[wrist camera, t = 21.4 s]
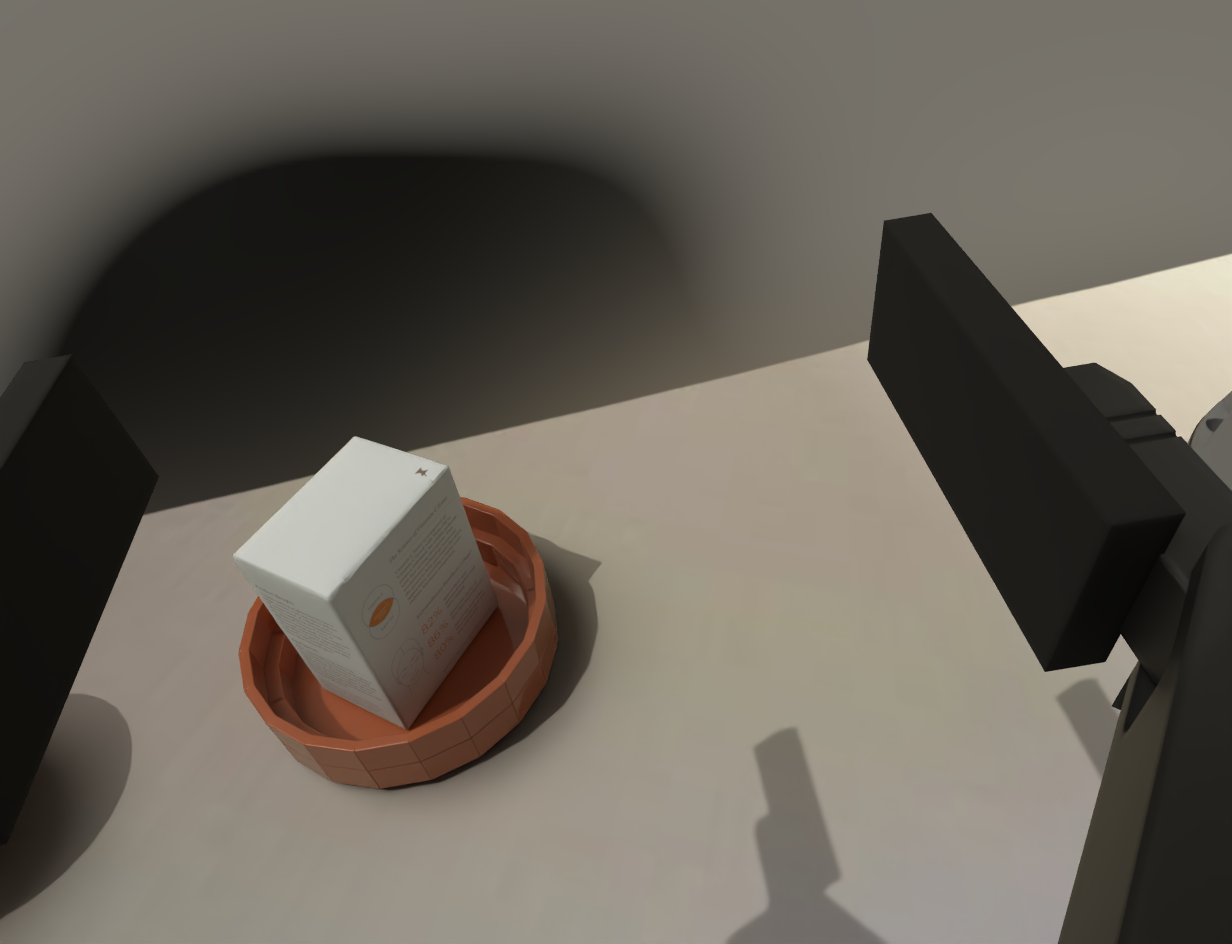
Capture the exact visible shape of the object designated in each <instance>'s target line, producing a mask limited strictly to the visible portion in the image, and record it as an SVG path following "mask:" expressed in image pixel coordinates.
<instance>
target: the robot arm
mask: <svg viewBox="0 0 1232 944" xmlns="http://www.w3.org/2000/svg"><path fill="white" fill-rule="evenodd" d="M867 360H868V362H869V364H870V365H871V367H872V369H873V371H874V372H875V374H876V376H877V378H878V379H879V381H880V383H881V385H882V386H883V388H884V390H885V392H886V393H887V395H888V397H889V399H890V400H891V402H892V404H893V406H894V407H895V409H896V411H897V413H898V414H899V416H900V418H901V420H902V421H903V423H904V425H905V427H906V429H907V430H908V432H909V434H910V436H911V437H912V439H913V441H914V443H915V444H916V446H917V448H918V450H919V451H920V453H921V455H922V457H923V458H924V460H925V462H926V464H927V465H928V467H929V469H930V471H931V472H932V474H933V476H934V478H935V479H936V481H937V483H938V485H939V487H940V488H941V490H942V492H943V494H944V495H945V497H946V499H947V501H948V502H949V504H950V506H951V508H952V509H953V511H954V513H955V515H956V516H957V518H958V520H959V522H960V523H961V525H962V527H963V529H964V530H965V532H966V534H967V536H968V537H969V539H970V541H971V543H972V544H973V546H974V548H975V550H976V552H977V553H978V555H979V557H980V559H981V560H982V562H983V564H984V566H985V567H986V569H987V571H988V573H989V574H990V576H991V578H992V580H993V581H994V583H995V585H996V587H997V588H998V590H999V592H1000V594H1001V595H1002V597H1003V599H1004V601H1005V602H1006V604H1007V606H1008V608H1009V609H1010V611H1011V613H1012V615H1013V617H1014V618H1015V620H1016V622H1017V624H1018V625H1019V627H1020V629H1021V631H1022V632H1023V634H1024V636H1025V638H1026V639H1027V641H1028V643H1029V645H1030V646H1031V648H1032V650H1033V652H1034V653H1035V655H1036V657H1037V659H1038V660H1039V662H1040V664H1041V666H1042V667H1043V669H1044V671H1045V672H1047V671H1053V670H1059V669H1065V668H1071V667H1077V666H1083V665H1090V664H1096V663H1102V662H1106V660H1107V658H1108V656H1109V654H1110V653H1111V651H1112V649H1113V647H1114V645H1115V643H1116V642H1117V640H1118V638H1119V636H1120V634H1121V635H1122V636H1123V638H1124V639H1125V641H1126V642H1127V644H1128V645H1129V647H1130V648H1131V650H1132V651H1133V653H1134V654H1135V656H1136V657H1137V659H1138V660H1139V661H1138V662H1137V664H1136V666H1135V667H1134V669H1133V671H1132V673H1131V674H1130V676H1129V678H1128V679H1127V681H1126V683H1125V684H1124V686H1123V688H1122V689H1121V691H1120V693H1119V694H1118V696H1117V698H1116V699H1115V701H1114V703H1113V705H1112V707H1115V708H1117V709H1119V710H1121V712H1120V715H1119V719H1118V723H1117V726H1116V730H1115V734H1114V738H1113V741H1112V745H1111V749H1110V752H1109V756H1108V760H1107V763H1106V767H1105V771H1104V775H1103V778H1102V782H1101V786H1100V789H1099V793H1098V797H1097V801H1096V804H1095V808H1094V812H1093V815H1092V819H1091V823H1090V826H1089V830H1088V834H1087V838H1086V841H1085V845H1084V849H1083V852H1082V856H1081V860H1080V864H1079V867H1078V871H1077V875H1076V878H1075V882H1074V886H1073V889H1072V893H1071V897H1070V901H1069V904H1068V908H1067V912H1066V915H1065V919H1064V923H1063V927H1062V930H1061V934H1060V938H1059V941H1058V944H1232V392H1230V393H1229V394H1228V395H1227V396H1226V397H1225V398H1224V399H1223V400H1221V401H1220V402H1219V403H1217V404H1216V405H1215V406H1214V407H1213V408H1212V409H1211V410H1210V411H1209V412H1208V413H1207V414H1206V415H1205V416H1204V417H1203V418H1202V419H1201V421H1200V422H1199V423H1198V424H1197V426H1196V428H1195V430H1194V431H1193V433H1192V435H1191V437H1190V439H1189V441H1188V443H1187V442H1186V441H1185V440H1184V439H1183V438H1182V437H1181V436H1180V437H1177V436H1176V433H1175V432H1176V431H1175V429H1174V428H1173V427H1172V426H1171V425H1170V424H1169V423H1168V422H1167V421H1166V420H1165V419H1164V418H1163V417H1162V416H1161V415H1157V414H1156V409H1155V408H1154V407H1153V406H1152V405H1151V404H1150V403H1149V402H1148V400H1147V399H1146V398H1145V397H1144V396H1143V395H1142V394H1141V393H1140V392H1139V391H1138V390H1137V389H1136V388H1135V386H1134V385H1133V384H1132V383H1130V382H1128V381H1127V380H1125V379H1123V378H1121V377H1120V376H1118V375H1116V374H1114V373H1113V372H1111V371H1109V370H1107V369H1105V368H1104V367H1102V366H1100V365H1098V364H1097V363H1090V364H1084V365H1078V366H1072V367H1066V368H1063V367H1062V366H1061V365H1060V364H1059V363H1058V361H1057V360H1056V359H1055V358H1054V357H1053V355H1052V354H1051V353H1050V352H1049V351H1048V350H1047V348H1046V347H1045V346H1044V345H1043V344H1042V343H1041V341H1040V340H1039V339H1038V338H1037V337H1036V335H1035V334H1034V333H1033V332H1032V331H1031V330H1030V328H1029V327H1028V326H1027V325H1026V324H1025V323H1024V321H1023V320H1022V319H1021V318H1020V317H1019V315H1018V314H1017V313H1016V312H1015V311H1014V310H1013V308H1012V307H1011V306H1010V305H1009V304H1008V303H1007V301H1006V300H1005V299H1004V298H1003V297H1002V296H1001V294H1000V293H999V292H998V291H997V290H996V289H995V287H994V286H993V285H992V284H991V283H990V281H989V280H988V279H987V278H986V277H985V276H984V274H983V273H982V272H981V271H980V270H979V268H978V267H977V266H976V265H975V264H974V263H973V261H972V260H971V259H970V258H969V257H968V256H967V254H966V253H965V252H964V251H963V250H962V248H961V247H960V246H959V245H958V244H957V243H956V241H955V240H954V239H953V238H952V237H951V236H950V234H949V233H948V232H947V231H946V230H945V228H944V227H943V226H942V225H941V224H940V223H939V221H938V220H937V219H936V218H935V217H934V216H933V214H932V213H928V214H922V215H917V216H910V217H904V218H898V219H892V220H886V221H884V225H883V234H882V242H881V250H880V259H879V267H878V275H877V283H876V292H875V301H874V309H873V317H872V325H871V333H870V342H869V350H868V358H867ZM158 477H159V476H158V475H157V473H156V472H155V471H154V469H153V468H152V466H151V465H150V464H149V462H148V461H147V459H146V458H145V456H144V455H143V454H142V452H141V451H140V449H138V447H137V445H136V444H135V442H134V441H133V440H132V439H131V437H130V435H129V434H128V433H127V431H126V430H125V428H124V427H123V426H122V424H121V423H120V421H119V420H118V419H117V417H116V416H115V415H114V413H113V412H112V410H111V409H110V407H109V406H108V405H107V403H106V402H105V400H104V399H103V398H102V396H101V395H100V393H99V392H98V390H97V389H96V388H95V386H94V385H93V383H92V382H91V381H90V379H89V378H88V376H87V375H86V374H85V372H84V371H83V369H82V368H81V367H80V365H79V364H78V363H77V361H76V360H75V358H74V357H73V355H66V356H60V357H54V358H48V359H42V360H36V361H30V362H25V363H24V364H23V365H22V367H21V368H20V370H19V371H18V372H17V374H16V375H15V377H14V378H13V380H12V381H11V383H10V384H9V386H8V387H7V389H6V390H5V392H4V393H3V394H2V396H1V397H0V845H3V844H7V842H8V840H9V838H10V835H11V833H12V830H13V828H14V826H15V823H16V821H17V818H18V816H19V813H20V811H21V809H22V806H23V804H24V801H25V799H26V797H27V794H28V792H29V789H30V787H31V784H32V782H33V780H34V777H35V775H36V772H37V770H38V768H39V765H40V763H41V760H42V758H43V755H44V753H45V751H46V748H47V746H48V743H49V741H50V739H51V736H52V734H53V731H54V729H55V726H56V724H57V722H58V719H59V717H60V714H61V712H62V710H63V707H64V705H65V702H66V700H67V697H68V695H69V693H70V690H71V688H72V685H73V683H74V681H75V678H76V676H77V673H78V671H79V668H80V666H81V664H82V661H83V659H84V656H85V654H86V652H87V649H88V647H89V644H90V642H91V639H92V637H93V635H94V632H95V630H96V627H97V625H98V623H99V620H100V618H101V615H102V613H103V610H104V608H105V606H106V603H107V601H108V598H109V596H110V594H111V591H112V589H113V586H114V584H115V581H116V579H117V577H118V574H119V572H120V569H121V567H122V564H123V562H124V560H125V557H126V555H127V552H128V550H129V548H130V545H131V543H132V540H133V538H134V535H135V533H136V531H137V528H138V526H139V523H140V521H141V519H142V516H143V514H144V511H145V509H146V506H147V504H148V502H149V499H150V497H151V494H152V492H153V490H154V487H155V485H156V482H157V480H158Z"/></svg>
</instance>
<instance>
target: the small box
mask: <svg viewBox="0 0 1232 944" xmlns="http://www.w3.org/2000/svg"><path fill="white" fill-rule="evenodd" d="M233 560H234V562H235V563H236V565H237V566H238V568H239V569H240V570H241V572H242V573H243V575H244V576H245V577H246V579H247V580H248V582H249V583H250V585H251V586H252V587H253V589H254V590H255V592H256V593H257V595H258V596H259V597H260V599H261V600H262V602H263V603H264V604H265V606H266V607H267V609H268V610H269V612H270V613H271V614H272V616H273V618H274V619H275V621H276V622H277V624H278V625H279V626H280V628H281V629H282V631H283V632H284V633H285V635H286V636H287V637H288V639H289V640H290V642H291V643H292V645H293V646H294V647H295V649H296V650H297V652H298V653H299V655H300V656H301V657H302V659H303V660H304V662H305V663H306V665H307V666H308V667H309V669H310V670H311V672H312V673H313V675H314V676H315V677H316V679H317V680H318V681H319V683H320V684H321V686H322V687H323V688H324V689H326V690H327V691H329V692H331V693H333V694H335V695H337V696H339V697H341V698H343V699H345V700H347V701H349V702H351V703H353V704H355V705H357V706H359V707H361V708H363V709H365V710H367V711H369V712H371V713H373V714H375V715H377V716H379V717H381V718H383V719H385V720H387V721H389V722H391V723H393V724H395V725H397V726H399V727H401V728H403V729H406V730H407V729H409V728H410V726H411V725H412V724H413V722H414V721H415V719H416V718H417V716H418V715H419V714H420V712H421V711H422V710H423V708H424V707H425V705H426V704H427V703H428V701H429V700H430V699H431V697H432V696H433V694H434V693H435V692H436V690H437V689H438V688H439V686H440V685H441V683H442V682H443V681H444V679H445V678H446V677H447V675H448V674H449V672H450V671H451V670H452V668H453V667H454V665H455V664H456V663H457V661H458V660H459V659H460V657H461V656H462V655H463V653H464V652H465V651H466V649H467V648H468V646H469V645H470V644H471V642H472V641H473V639H474V638H475V637H476V635H477V634H478V632H479V631H480V630H481V628H482V627H483V625H484V624H485V623H486V621H487V620H488V619H489V617H490V616H491V615H492V613H493V612H494V610H495V609H496V608H497V606H498V601H497V598H496V595H495V593H494V590H493V587H492V584H491V582H490V579H489V576H488V573H487V571H486V568H485V565H484V562H483V559H482V557H481V554H480V551H479V549H478V546H477V543H476V540H475V538H474V535H473V532H472V529H471V527H470V524H469V521H468V518H467V516H466V512H465V510H464V507H463V504H462V502H461V499H460V496H459V493H458V491H457V488H456V485H455V482H454V480H453V477H452V474H451V471H450V469H449V467H448V466H446V465H443V464H440V463H437V462H434V461H431V460H428V459H425V458H422V457H419V456H415V455H412V454H409V453H406V452H403V451H400V450H397V449H394V448H391V447H387V446H384V445H381V444H378V443H375V442H372V441H369V440H366V439H362V438H359V437H353V438H352V439H351V440H350V441H349V442H348V443H347V444H346V445H345V446H344V447H343V448H342V449H341V450H340V451H339V452H338V453H337V454H336V455H335V456H334V457H333V458H332V459H331V460H330V461H329V462H328V463H327V464H326V465H325V466H324V467H323V468H322V469H321V470H320V471H319V472H318V473H317V474H316V475H314V476H313V477H312V478H311V479H310V480H309V481H308V482H307V483H306V484H305V485H304V486H303V487H302V488H301V489H300V490H299V491H298V492H297V493H296V494H295V495H294V496H293V497H292V498H291V499H290V500H289V501H288V502H287V503H286V504H285V505H284V506H283V507H282V508H281V509H280V510H279V511H277V512H276V513H275V514H274V515H273V516H272V518H270V519H269V520H268V521H267V522H266V523H265V524H264V525H263V526H262V527H261V528H260V529H259V530H258V531H257V532H256V533H255V534H254V535H253V536H252V537H251V538H250V539H249V540H248V541H247V542H246V543H245V544H244V545H243V546H242V547H240V548H239V549H238V550H237V551H236V552H235V553H234V554H233Z"/></svg>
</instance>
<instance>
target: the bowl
mask: <svg viewBox="0 0 1232 944" xmlns="http://www.w3.org/2000/svg"><path fill="white" fill-rule="evenodd" d="M460 499H461V502H462V504H463V507H464V510H465V512H466V516H467V518H468V521H469V524H470V527H471V529H472V532H473V535H474V538H475V540H476V543H477V546H478V549H479V551H480V554H481V557H482V559H483V562H484V565H485V568H486V571H487V573H488V576H489V579H490V582H491V584H492V587H493V590H494V593H495V595H496V598H497V601H498V606H497V608H496V609H495V610H494V612H493V613H492V615H491V616H490V617H489V619H488V620H487V621H486V623H485V624H484V625H483V627H482V628H481V630H480V631H479V632H478V634H477V635H476V637H475V638H474V639H473V641H472V642H471V644H470V645H469V646H468V648H467V649H466V651H465V652H464V653H463V655H462V656H461V657H460V659H459V660H458V661H457V663H456V664H455V665H454V667H453V668H452V670H451V671H450V672H449V674H448V675H447V677H446V678H445V679H444V681H443V682H442V683H441V685H440V686H439V688H438V689H437V690H436V692H435V693H434V694H433V696H432V697H431V699H430V700H429V701H428V703H427V704H426V705H425V707H424V708H423V710H422V711H421V712H420V714H419V715H418V716H417V718H416V719H415V721H414V722H413V724H412V725H411V726H410V728H409V729H407V730H406V729H403V728H401V727H399V726H397V725H395V724H393V723H391V722H389V721H387V720H385V719H383V718H381V717H379V716H377V715H375V714H373V713H371V712H369V711H367V710H365V709H363V708H361V707H359V706H357V705H355V704H353V703H351V702H349V701H347V700H345V699H343V698H341V697H339V696H337V695H335V694H333V693H331V692H329V691H327V690H326V689H324V688H323V687H322V686H321V684H320V683H319V681H318V680H317V679H316V677H315V676H314V675H313V673H312V672H311V670H310V669H309V667H308V666H307V665H306V663H305V662H304V660H303V659H302V657H301V656H300V655H299V653H298V652H297V650H296V649H295V647H294V646H293V645H292V643H291V642H290V640H289V639H288V637H287V636H286V635H285V633H284V632H283V631H282V629H281V628H280V626H279V625H278V624H277V622H276V621H275V619H274V618H273V616H272V614H271V613H270V612H269V610H268V609H267V607H266V606H265V604H264V603H263V602H262V600H261V599H260V597H259V596H258V597H257V599H256V601H255V602H254V604H253V606H252V607H251V609H250V611H249V613H248V616H247V620H246V624H245V628H244V632H243V636H242V640H241V644H240V648H239V660H240V667H241V674H242V681H243V688H244V691H245V694H246V695H247V697H248V698H249V699H250V701H251V702H252V704H253V705H254V707H255V708H256V710H257V711H258V713H259V714H260V716H261V717H262V718H263V720H264V721H265V723H266V724H267V725H268V727H269V728H270V729H271V730H272V731H273V733H274V734H275V735H276V736H277V738H278V739H279V740H280V741H281V742H282V744H283V745H284V746H285V747H286V748H287V750H288V751H289V752H290V753H291V755H292V756H293V757H294V758H295V759H296V760H297V761H298V762H300V763H301V764H303V765H305V766H307V767H308V768H310V769H312V770H313V771H315V772H317V773H319V774H320V775H322V776H324V777H325V778H327V779H329V780H331V781H333V782H336V783H343V784H350V785H357V786H363V787H370V788H377V789H380V788H387V787H393V786H399V785H405V784H410V783H416V782H422V781H428V780H431V779H435V778H437V777H439V776H441V775H443V774H445V773H447V772H449V771H451V770H453V769H456V768H458V767H460V766H462V765H464V764H466V763H468V762H470V761H472V760H474V759H476V758H479V757H480V756H482V755H483V754H484V753H485V752H486V751H487V750H489V749H490V748H491V747H492V746H493V745H494V744H496V743H497V742H498V741H499V740H500V739H501V738H503V737H504V736H505V735H506V734H507V733H508V732H510V731H511V730H512V729H513V728H514V727H515V726H517V725H518V724H519V723H520V721H521V720H522V719H523V717H524V716H525V714H526V713H527V711H528V710H529V708H530V707H531V705H532V704H533V702H534V701H535V699H536V698H537V696H538V695H539V693H540V692H541V690H542V689H543V687H544V686H545V684H546V682H547V680H548V676H549V673H550V669H551V665H552V662H553V658H554V655H555V651H556V648H557V644H558V632H557V620H556V609H555V603H554V599H553V595H552V592H551V588H550V585H549V581H548V577H547V574H546V570H545V566H544V563H543V561H542V559H541V557H540V555H539V553H538V551H537V549H536V547H535V546H534V544H533V542H532V540H531V538H530V536H529V534H528V533H527V532H526V531H525V530H524V529H523V528H521V527H520V526H519V525H518V524H517V523H515V522H514V521H513V520H512V519H510V518H509V517H508V516H507V515H505V514H504V513H503V512H502V511H500V510H498V509H496V508H493V507H490V506H487V505H484V504H481V503H479V502H476V501H473V500H470V499H467V498H462V497H460Z"/></svg>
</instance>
